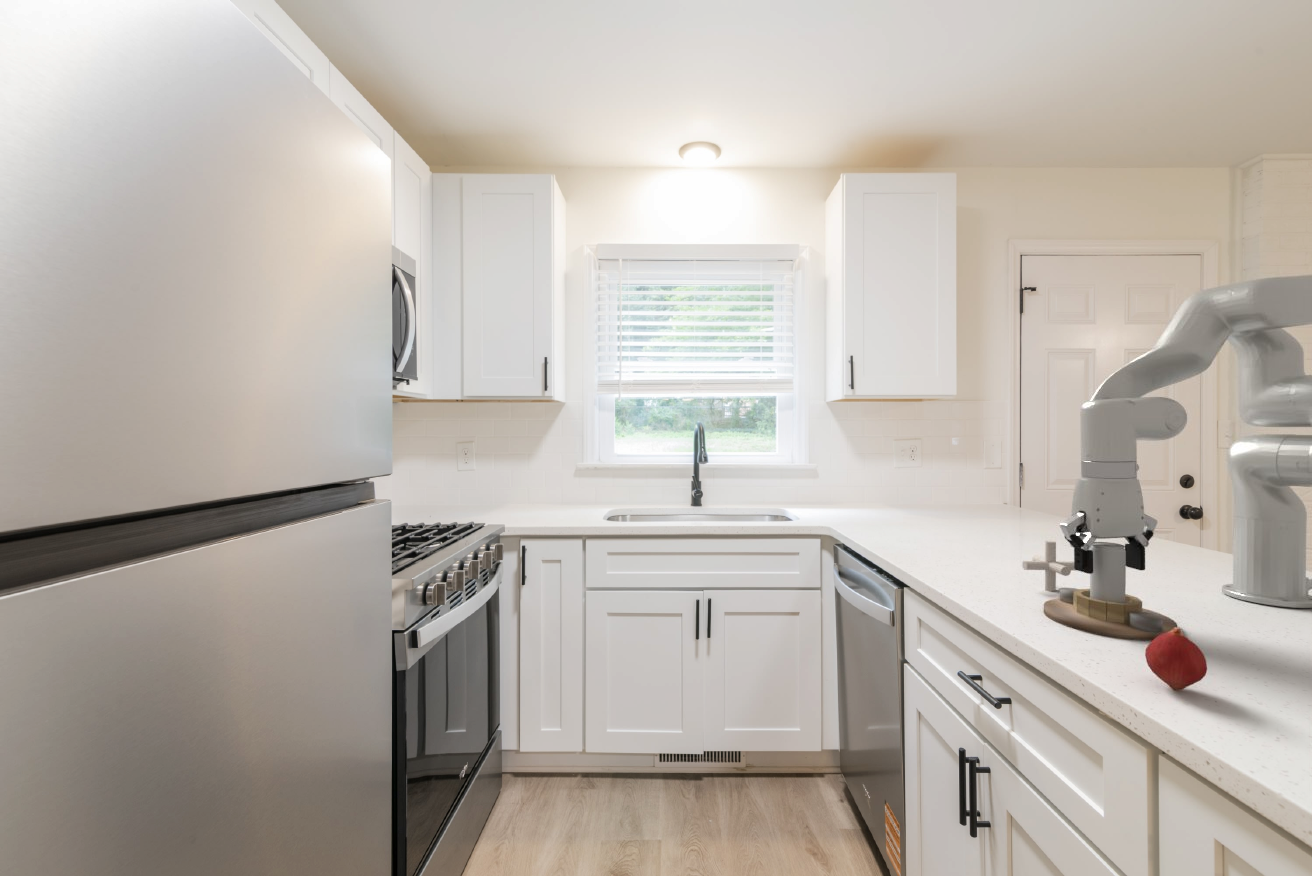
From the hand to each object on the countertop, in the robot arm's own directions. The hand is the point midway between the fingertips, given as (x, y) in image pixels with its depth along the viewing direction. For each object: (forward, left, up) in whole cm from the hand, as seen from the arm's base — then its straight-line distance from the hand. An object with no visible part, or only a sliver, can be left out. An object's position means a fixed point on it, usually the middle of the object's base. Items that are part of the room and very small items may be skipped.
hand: (1109, 570), depth 98 cm
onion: (+15, +24, -9) cm, 30 cm away
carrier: (+1, 0, -9) cm, 9 cm away
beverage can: (0, 0, -8) cm, 8 cm away
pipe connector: (-4, -18, -9) cm, 21 cm away
